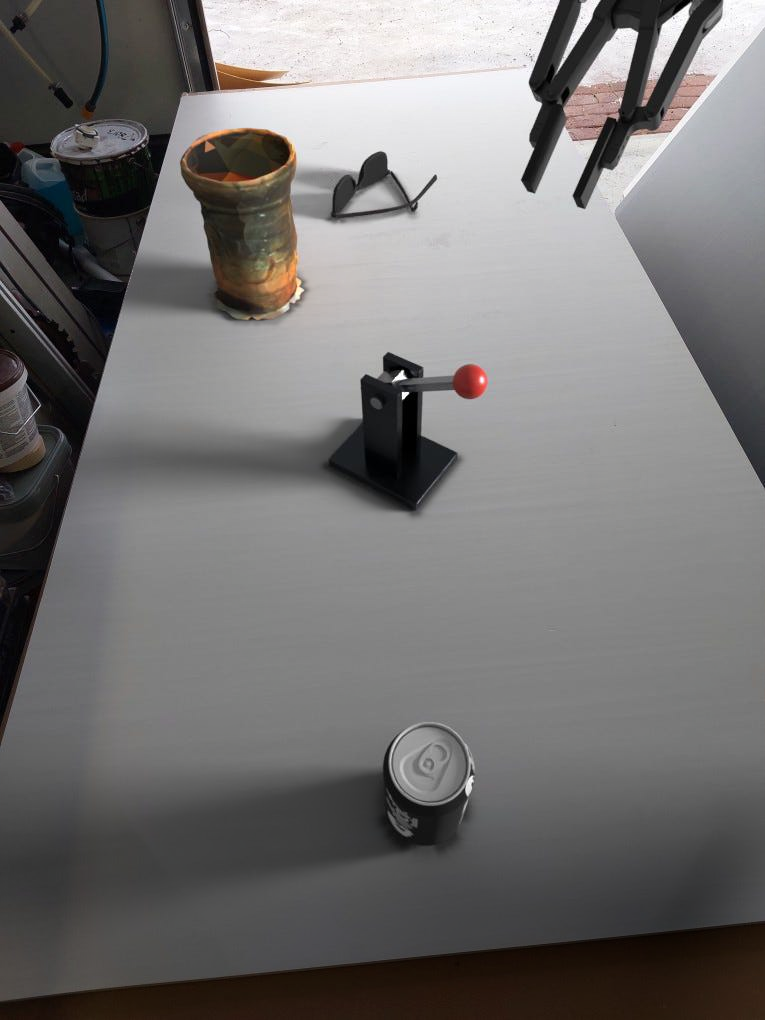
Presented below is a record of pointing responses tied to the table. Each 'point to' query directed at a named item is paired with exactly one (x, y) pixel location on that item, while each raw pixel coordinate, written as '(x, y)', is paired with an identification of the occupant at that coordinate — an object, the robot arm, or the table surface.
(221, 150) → the vessel
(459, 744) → the beverage can
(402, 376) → the lever
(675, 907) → the table surface
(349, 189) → the sunglasses
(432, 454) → the bracket
